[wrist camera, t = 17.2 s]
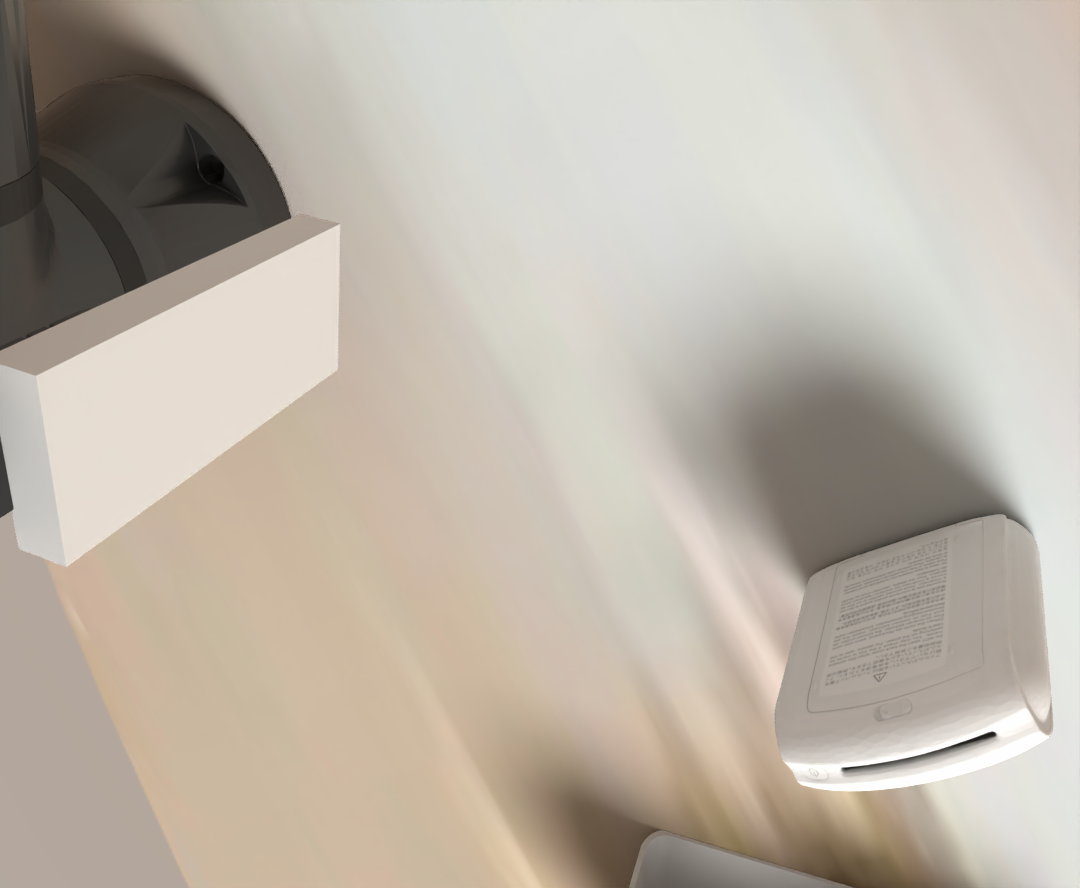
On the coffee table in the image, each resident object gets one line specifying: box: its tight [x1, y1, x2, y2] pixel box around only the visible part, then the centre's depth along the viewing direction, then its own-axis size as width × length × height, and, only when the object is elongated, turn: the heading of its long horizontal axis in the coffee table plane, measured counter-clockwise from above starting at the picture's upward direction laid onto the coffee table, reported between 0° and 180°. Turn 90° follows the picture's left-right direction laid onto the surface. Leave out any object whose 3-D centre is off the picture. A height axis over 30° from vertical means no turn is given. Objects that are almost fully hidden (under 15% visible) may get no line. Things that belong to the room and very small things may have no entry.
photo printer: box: [775, 514, 1053, 791], centre depth 40 cm, size 10×4×12 cm, turn 125°
